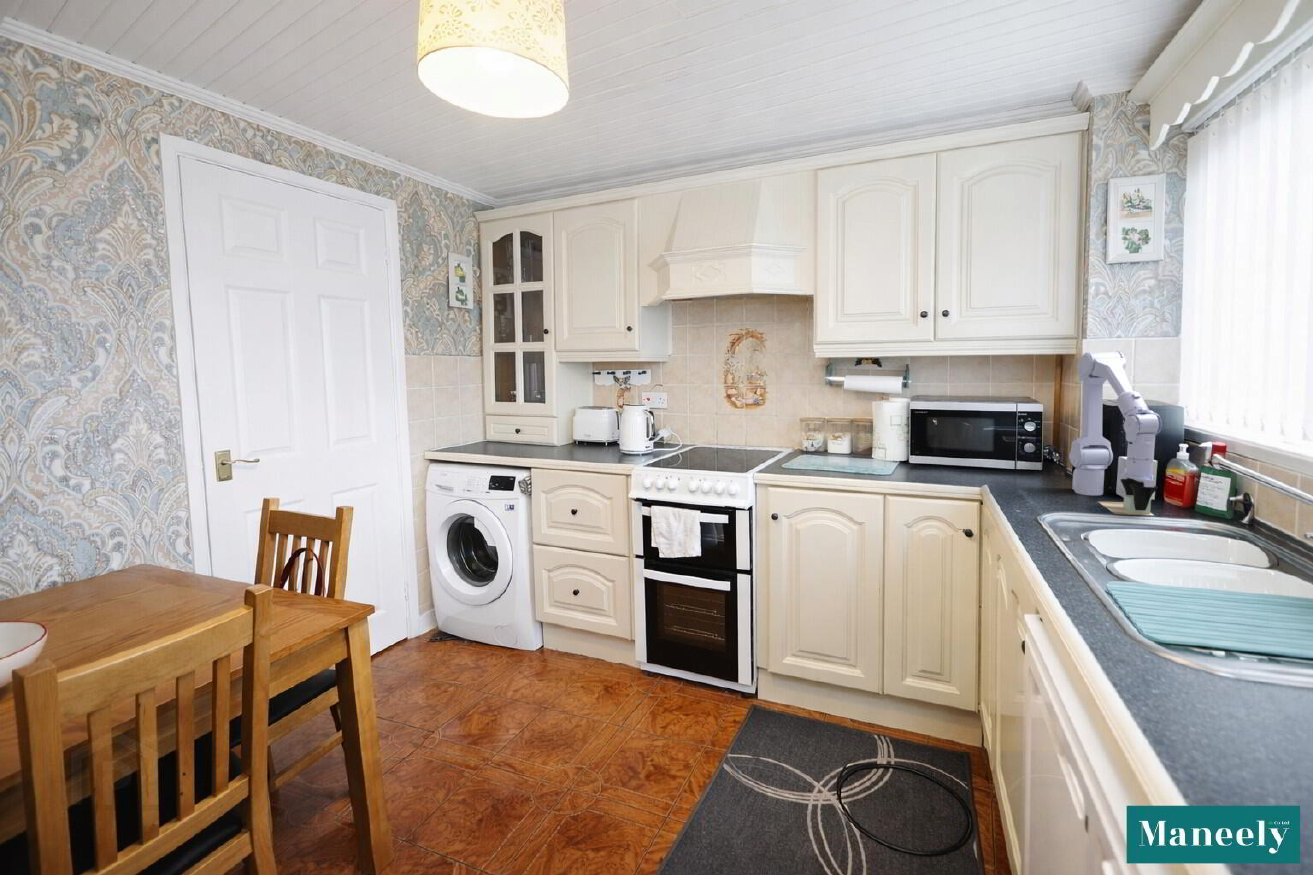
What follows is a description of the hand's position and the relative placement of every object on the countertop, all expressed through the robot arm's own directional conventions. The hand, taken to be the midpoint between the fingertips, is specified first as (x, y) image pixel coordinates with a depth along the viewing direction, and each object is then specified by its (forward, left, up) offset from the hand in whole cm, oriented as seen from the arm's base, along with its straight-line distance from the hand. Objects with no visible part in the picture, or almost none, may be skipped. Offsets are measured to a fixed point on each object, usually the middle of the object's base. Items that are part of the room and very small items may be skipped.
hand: (1136, 507), depth 172 cm
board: (-3, -1, -2) cm, 4 cm away
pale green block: (0, 0, -1) cm, 1 cm away
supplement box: (-19, +6, -2) cm, 20 cm away
